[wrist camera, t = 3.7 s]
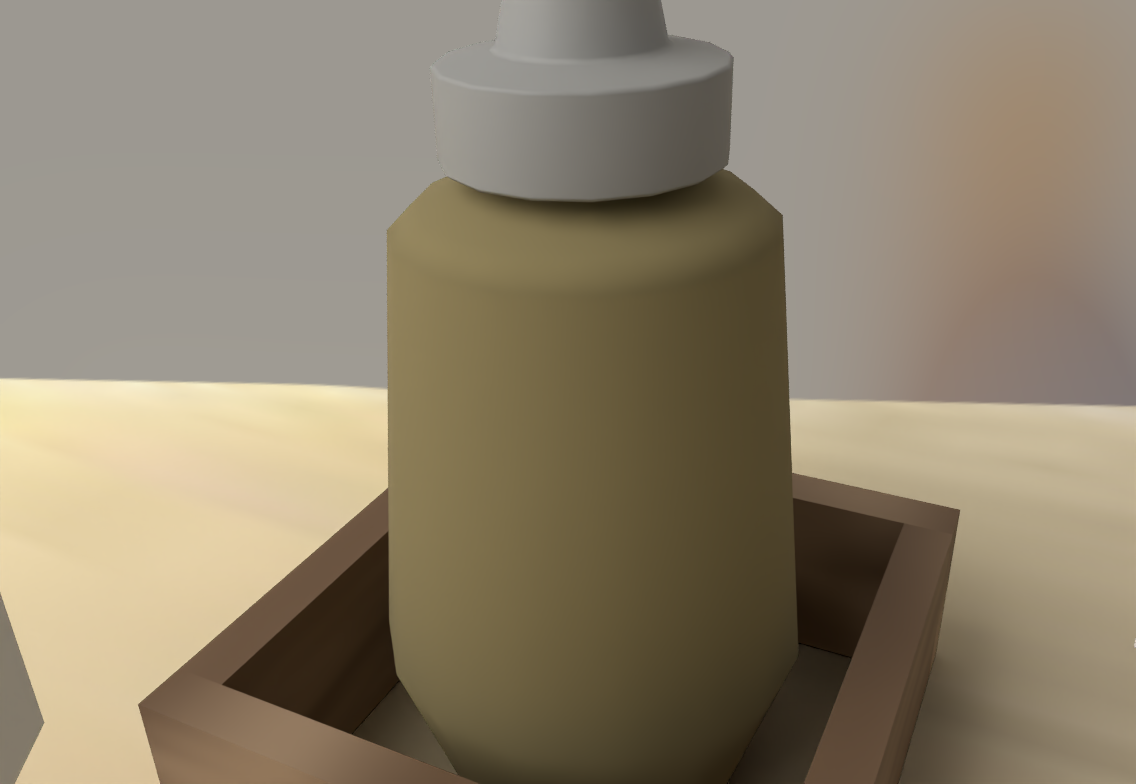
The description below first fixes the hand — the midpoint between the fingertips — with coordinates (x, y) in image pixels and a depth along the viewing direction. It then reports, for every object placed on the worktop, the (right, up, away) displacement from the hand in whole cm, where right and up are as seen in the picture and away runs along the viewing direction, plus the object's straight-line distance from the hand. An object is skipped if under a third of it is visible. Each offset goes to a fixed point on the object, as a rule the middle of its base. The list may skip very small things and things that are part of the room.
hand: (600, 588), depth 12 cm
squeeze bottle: (0, -6, +11) cm, 12 cm away
